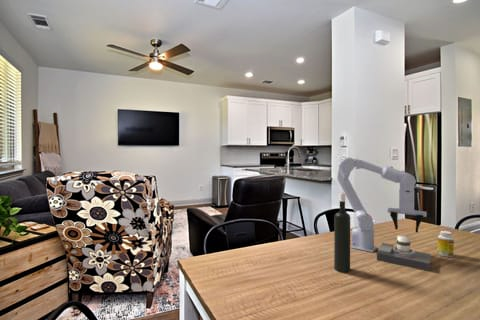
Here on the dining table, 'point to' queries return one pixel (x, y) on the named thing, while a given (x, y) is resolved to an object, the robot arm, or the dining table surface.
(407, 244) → the lens
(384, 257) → the camera body
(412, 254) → the mount ring
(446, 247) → the supplement bottle
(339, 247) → the wine bottle
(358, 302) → the dining table surface
